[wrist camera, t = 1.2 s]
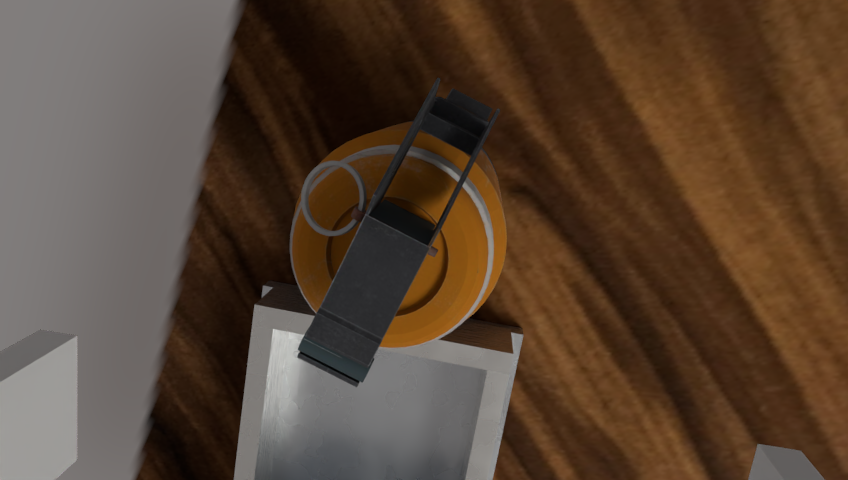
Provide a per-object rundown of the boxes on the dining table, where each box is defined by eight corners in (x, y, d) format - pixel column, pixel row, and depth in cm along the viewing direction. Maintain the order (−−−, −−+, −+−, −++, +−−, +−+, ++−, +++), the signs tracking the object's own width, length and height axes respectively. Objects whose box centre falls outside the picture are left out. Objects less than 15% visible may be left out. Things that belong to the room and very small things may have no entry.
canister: (326, 226, 41) (185, 342, 22) (406, 59, 39) (328, 21, 19) (456, 293, 42) (432, 467, 22) (544, 130, 39) (605, 164, 20)
